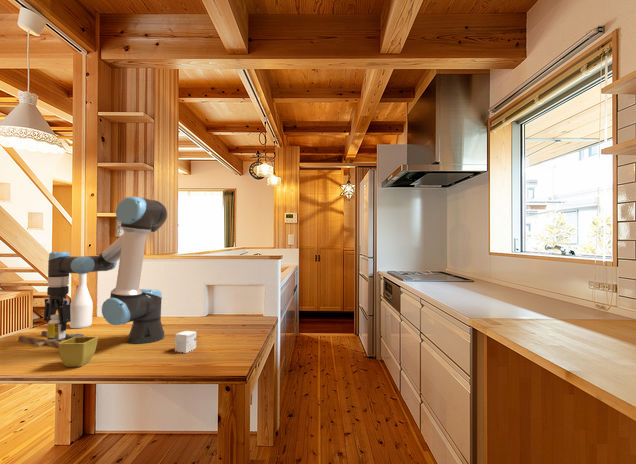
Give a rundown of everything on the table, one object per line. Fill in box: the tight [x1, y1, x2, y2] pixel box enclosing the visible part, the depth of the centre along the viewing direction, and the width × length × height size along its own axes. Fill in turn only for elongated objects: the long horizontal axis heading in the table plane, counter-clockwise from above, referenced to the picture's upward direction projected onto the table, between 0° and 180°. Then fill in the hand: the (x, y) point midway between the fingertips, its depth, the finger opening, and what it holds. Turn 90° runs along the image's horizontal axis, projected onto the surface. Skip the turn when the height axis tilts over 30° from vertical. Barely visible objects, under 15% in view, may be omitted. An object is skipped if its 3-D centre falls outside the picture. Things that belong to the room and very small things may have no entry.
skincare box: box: [174, 330, 197, 354], centre depth 135 cm, size 6×6×7 cm
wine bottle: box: [69, 273, 94, 329], centre depth 170 cm, size 10×10×30 cm
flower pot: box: [58, 336, 99, 368], centre depth 118 cm, size 9×9×9 cm
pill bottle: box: [46, 313, 65, 341], centre depth 144 cm, size 6×6×11 cm
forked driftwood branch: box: [17, 330, 88, 348], centre depth 144 cm, size 32×15×4 cm, turn 73°
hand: (56, 337), depth 144 cm, fingers closed on pill bottle, 6 cm apart
